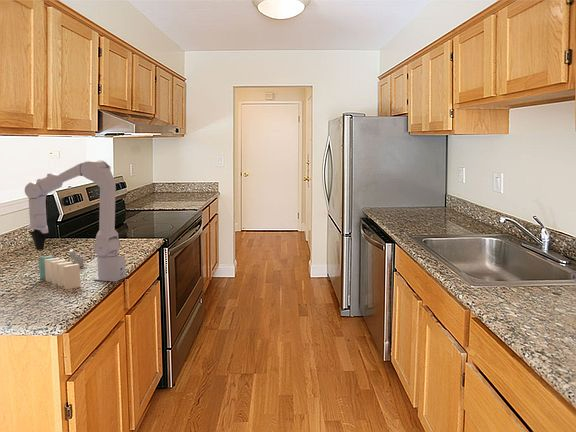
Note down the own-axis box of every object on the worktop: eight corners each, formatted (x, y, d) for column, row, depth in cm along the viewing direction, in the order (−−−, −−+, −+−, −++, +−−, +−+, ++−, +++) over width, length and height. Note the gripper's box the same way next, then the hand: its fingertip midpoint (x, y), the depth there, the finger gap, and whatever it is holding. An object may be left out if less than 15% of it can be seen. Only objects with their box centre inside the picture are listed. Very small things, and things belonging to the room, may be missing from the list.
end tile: (54, 276, 203) (53, 256, 201) (41, 279, 199) (40, 258, 198) (53, 276, 204) (51, 255, 203) (39, 278, 200) (38, 257, 199)
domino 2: (67, 281, 196) (66, 260, 195) (53, 284, 192) (52, 262, 191) (65, 280, 197) (64, 259, 196) (51, 283, 193) (50, 261, 192)
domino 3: (73, 283, 193) (72, 262, 191) (59, 286, 189) (58, 264, 188) (71, 283, 194) (70, 261, 192) (57, 285, 190) (56, 263, 189)
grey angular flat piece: (79, 265, 221) (78, 246, 220) (83, 265, 221) (82, 246, 220) (69, 269, 214) (68, 250, 213) (73, 269, 214) (72, 250, 213)
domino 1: (61, 279, 199) (59, 258, 198) (47, 281, 196) (46, 260, 194) (59, 278, 200) (58, 257, 199) (45, 280, 197) (44, 259, 195)
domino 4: (80, 286, 189) (79, 264, 188) (66, 289, 186) (65, 266, 184) (78, 285, 190) (77, 263, 189) (64, 288, 187) (63, 266, 185)
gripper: (20, 213, 204) (22, 248, 206) (33, 217, 193) (35, 254, 195) (39, 211, 209) (41, 245, 210) (53, 215, 198) (55, 251, 200)
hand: (39, 249), depth 203 cm, fingers closed
